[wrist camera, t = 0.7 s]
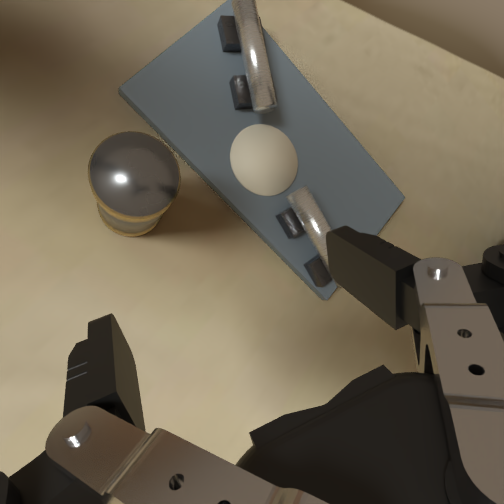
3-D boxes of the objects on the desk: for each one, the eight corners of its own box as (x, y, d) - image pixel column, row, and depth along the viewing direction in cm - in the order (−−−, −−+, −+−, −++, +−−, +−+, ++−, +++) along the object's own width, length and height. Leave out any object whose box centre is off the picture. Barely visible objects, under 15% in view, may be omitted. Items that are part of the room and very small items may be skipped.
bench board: (118, 93, 29) (118, 86, 28) (231, 2, 33) (235, -8, 32) (321, 299, 34) (328, 300, 33) (398, 199, 38) (406, 196, 37)
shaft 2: (265, 208, 33) (285, 198, 29) (295, 189, 34) (317, 178, 30) (313, 290, 34) (338, 292, 30) (340, 270, 35) (368, 269, 31)
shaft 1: (269, 122, 34) (289, 102, 30) (233, 125, 32) (249, 104, 28) (250, 27, 33) (267, -6, 30) (213, 26, 32) (226, -9, 28)
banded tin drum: (84, 206, 28) (66, 170, 18) (129, 165, 29) (134, 112, 20) (132, 249, 29) (137, 236, 19) (173, 208, 30) (198, 177, 21)
